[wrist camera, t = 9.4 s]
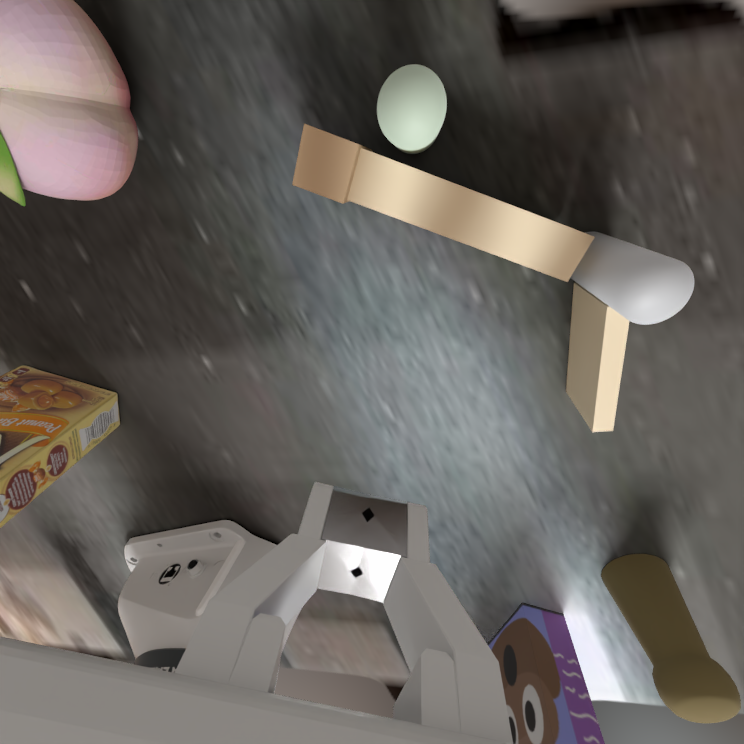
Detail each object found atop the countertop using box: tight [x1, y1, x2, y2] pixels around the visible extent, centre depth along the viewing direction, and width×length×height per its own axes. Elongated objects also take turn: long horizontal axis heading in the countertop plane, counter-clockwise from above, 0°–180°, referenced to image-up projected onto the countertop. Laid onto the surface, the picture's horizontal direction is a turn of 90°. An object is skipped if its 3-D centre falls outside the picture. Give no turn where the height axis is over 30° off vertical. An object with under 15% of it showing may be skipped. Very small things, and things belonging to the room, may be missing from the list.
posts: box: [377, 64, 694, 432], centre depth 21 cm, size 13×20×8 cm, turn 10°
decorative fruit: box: [0, 0, 138, 206], centre depth 18 cm, size 9×8×10 cm
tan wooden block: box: [292, 124, 595, 282], centre depth 20 cm, size 15×3×5 cm, turn 72°
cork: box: [601, 554, 741, 723], centre depth 32 cm, size 6×6×11 cm
